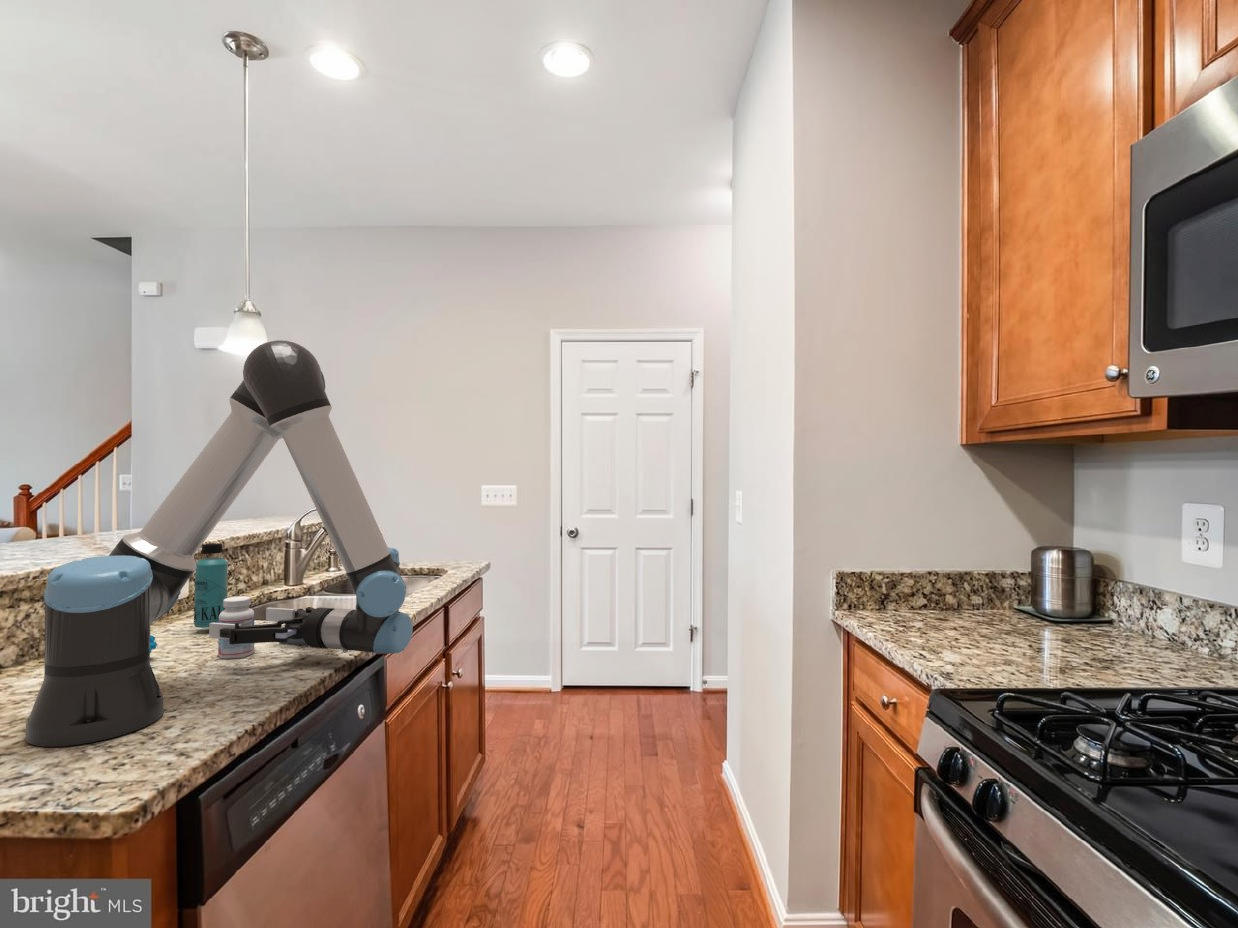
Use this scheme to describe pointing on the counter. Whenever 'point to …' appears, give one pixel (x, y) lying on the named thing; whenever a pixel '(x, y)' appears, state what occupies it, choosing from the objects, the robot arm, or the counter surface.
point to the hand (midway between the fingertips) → (240, 621)
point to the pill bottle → (232, 614)
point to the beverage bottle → (209, 587)
